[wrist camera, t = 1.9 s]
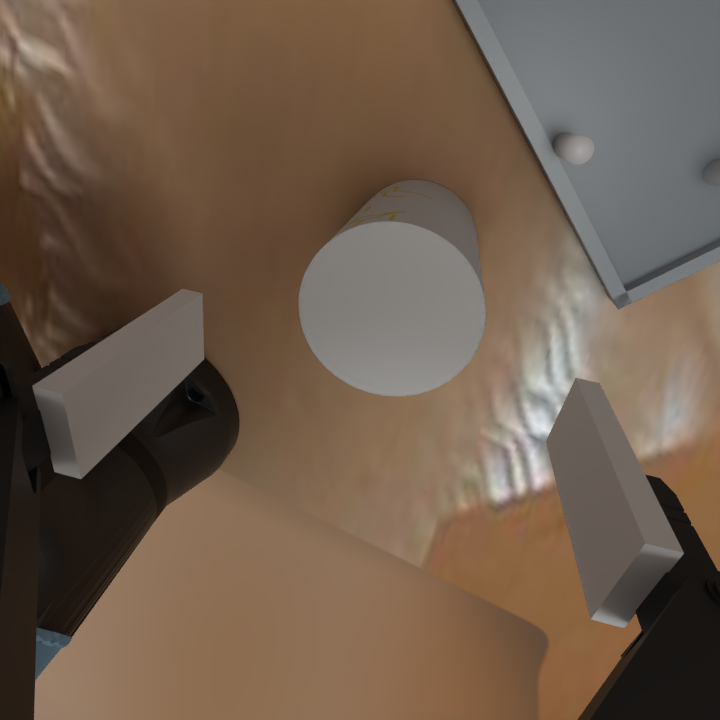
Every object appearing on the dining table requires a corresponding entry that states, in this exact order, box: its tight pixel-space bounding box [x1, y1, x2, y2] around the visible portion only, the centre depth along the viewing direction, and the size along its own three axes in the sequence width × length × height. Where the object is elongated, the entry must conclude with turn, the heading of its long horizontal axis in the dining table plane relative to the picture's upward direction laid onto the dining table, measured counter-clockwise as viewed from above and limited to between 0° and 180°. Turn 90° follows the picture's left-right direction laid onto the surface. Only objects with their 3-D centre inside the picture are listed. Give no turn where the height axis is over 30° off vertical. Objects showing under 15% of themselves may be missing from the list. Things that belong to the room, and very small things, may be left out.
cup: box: [299, 180, 486, 396], centre depth 25 cm, size 8×8×12 cm
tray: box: [452, 0, 720, 309], centre depth 21 cm, size 20×14×5 cm
